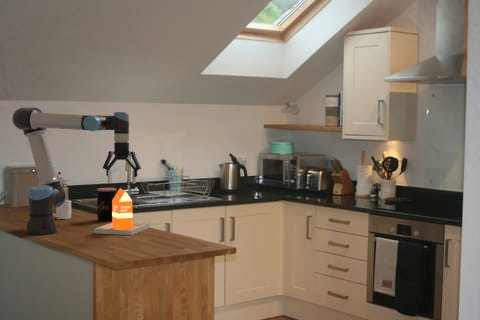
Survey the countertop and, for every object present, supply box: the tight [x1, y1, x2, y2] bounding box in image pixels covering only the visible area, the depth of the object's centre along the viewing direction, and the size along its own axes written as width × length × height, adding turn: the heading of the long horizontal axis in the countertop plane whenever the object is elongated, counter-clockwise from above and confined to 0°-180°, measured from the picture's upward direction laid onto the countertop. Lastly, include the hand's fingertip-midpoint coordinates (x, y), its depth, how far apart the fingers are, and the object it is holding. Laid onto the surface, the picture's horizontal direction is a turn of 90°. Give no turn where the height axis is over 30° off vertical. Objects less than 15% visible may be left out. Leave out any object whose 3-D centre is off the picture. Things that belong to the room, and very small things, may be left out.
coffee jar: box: [96, 187, 117, 222], centre depth 392 cm, size 11×11×18 cm
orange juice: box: [111, 188, 133, 230], centre depth 359 cm, size 8×9×20 cm
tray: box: [94, 221, 150, 236], centre depth 360 cm, size 24×20×2 cm
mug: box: [53, 199, 72, 220], centre depth 397 cm, size 12×8×10 cm
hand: (121, 182), depth 358 cm, fingers open, 13 cm apart
